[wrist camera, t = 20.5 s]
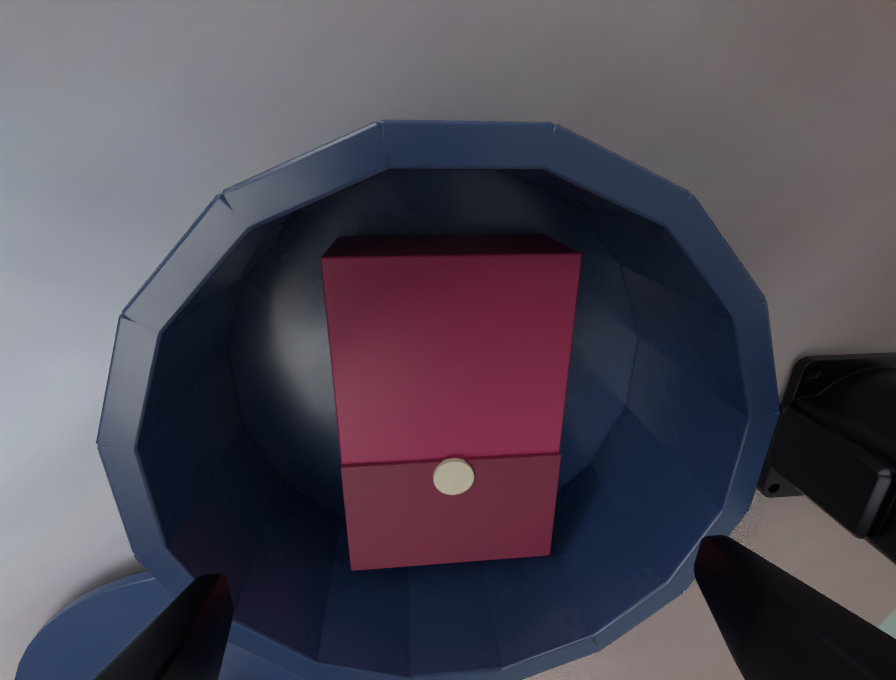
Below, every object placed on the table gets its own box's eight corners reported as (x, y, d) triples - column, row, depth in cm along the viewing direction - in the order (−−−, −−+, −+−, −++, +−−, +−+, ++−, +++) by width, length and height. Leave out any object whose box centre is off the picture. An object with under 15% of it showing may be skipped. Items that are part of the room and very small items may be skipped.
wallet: (337, 236, 14) (317, 259, 10) (545, 233, 14) (588, 255, 11) (360, 498, 17) (350, 575, 14) (524, 487, 18) (551, 559, 15)
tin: (688, 140, 14) (874, 126, 9) (616, 525, 20) (699, 666, 14) (165, 134, 13) (-20, 113, 7) (251, 550, 18) (187, 718, 13)
